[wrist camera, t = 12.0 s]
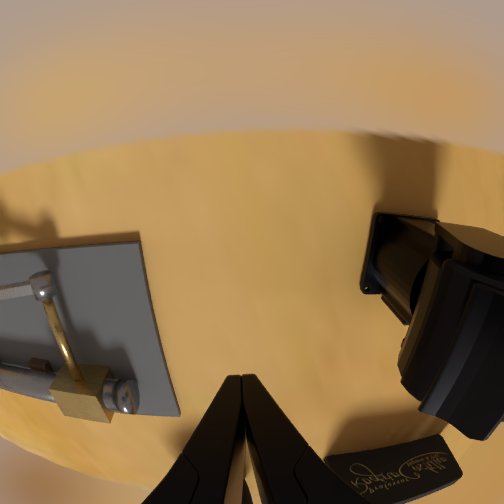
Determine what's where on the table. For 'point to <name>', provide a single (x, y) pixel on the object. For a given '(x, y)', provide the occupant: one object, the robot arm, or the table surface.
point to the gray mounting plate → (89, 317)
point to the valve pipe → (73, 381)
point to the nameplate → (398, 470)
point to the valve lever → (31, 287)
